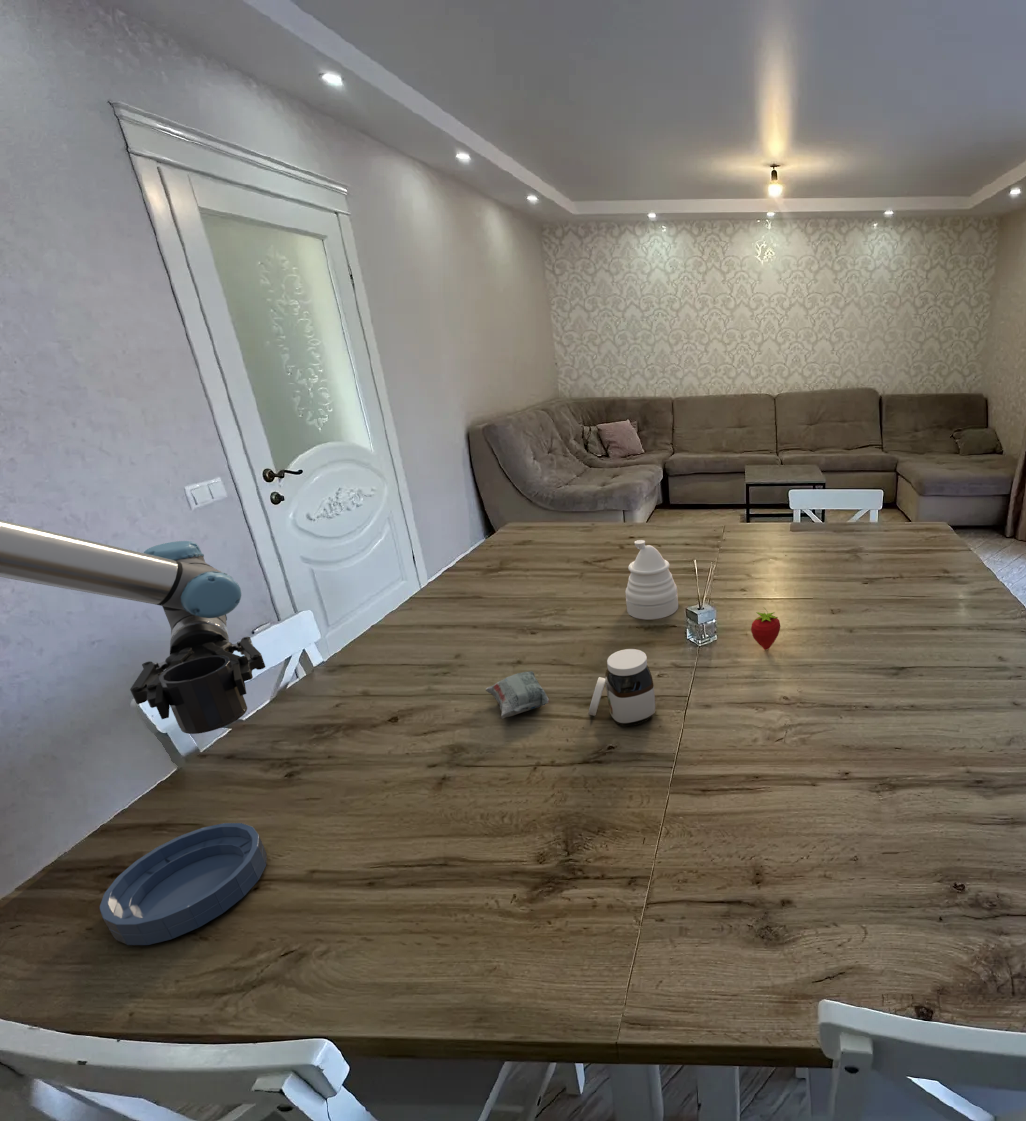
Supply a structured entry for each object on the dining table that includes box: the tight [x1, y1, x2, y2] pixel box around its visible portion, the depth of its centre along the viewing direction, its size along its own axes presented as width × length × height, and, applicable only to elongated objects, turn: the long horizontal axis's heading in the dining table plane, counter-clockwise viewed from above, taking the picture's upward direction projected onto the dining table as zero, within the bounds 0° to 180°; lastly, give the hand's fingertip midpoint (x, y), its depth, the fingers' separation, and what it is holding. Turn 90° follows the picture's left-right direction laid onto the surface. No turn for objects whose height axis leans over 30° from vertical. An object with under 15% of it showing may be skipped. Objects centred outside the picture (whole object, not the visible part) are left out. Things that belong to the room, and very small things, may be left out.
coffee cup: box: [159, 655, 248, 735], centre depth 90 cm, size 8×8×9 cm
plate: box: [99, 822, 268, 946], centre depth 72 cm, size 14×14×4 cm
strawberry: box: [750, 608, 782, 651], centre depth 126 cm, size 6×8×10 cm
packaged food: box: [485, 670, 550, 720], centre depth 108 cm, size 9×12×5 cm
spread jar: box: [587, 648, 656, 727], centre depth 104 cm, size 12×11×12 cm
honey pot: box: [624, 539, 679, 620], centre depth 144 cm, size 13×13×18 cm
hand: (202, 698), depth 86 cm, fingers closed on coffee cup, 8 cm apart
